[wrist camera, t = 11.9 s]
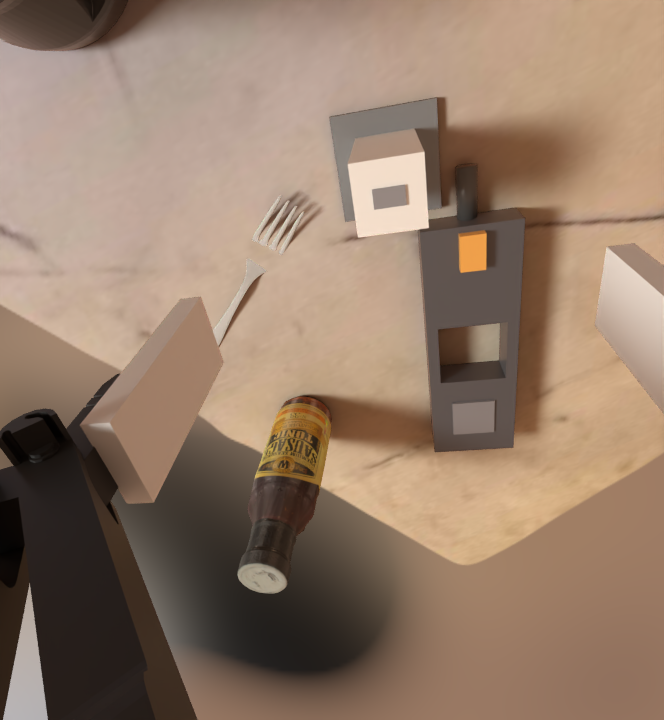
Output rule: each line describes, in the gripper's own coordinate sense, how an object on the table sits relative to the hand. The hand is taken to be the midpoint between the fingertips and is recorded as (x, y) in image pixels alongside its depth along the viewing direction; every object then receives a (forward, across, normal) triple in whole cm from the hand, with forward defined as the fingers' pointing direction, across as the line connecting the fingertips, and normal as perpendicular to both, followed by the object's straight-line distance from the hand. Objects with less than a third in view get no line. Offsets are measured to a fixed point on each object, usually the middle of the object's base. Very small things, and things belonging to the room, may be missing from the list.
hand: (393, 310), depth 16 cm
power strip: (+26, +6, -15) cm, 31 cm away
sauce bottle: (+26, -12, -25) cm, 38 cm away
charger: (+26, 0, 0) cm, 26 cm away
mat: (+26, 0, 0) cm, 26 cm away
